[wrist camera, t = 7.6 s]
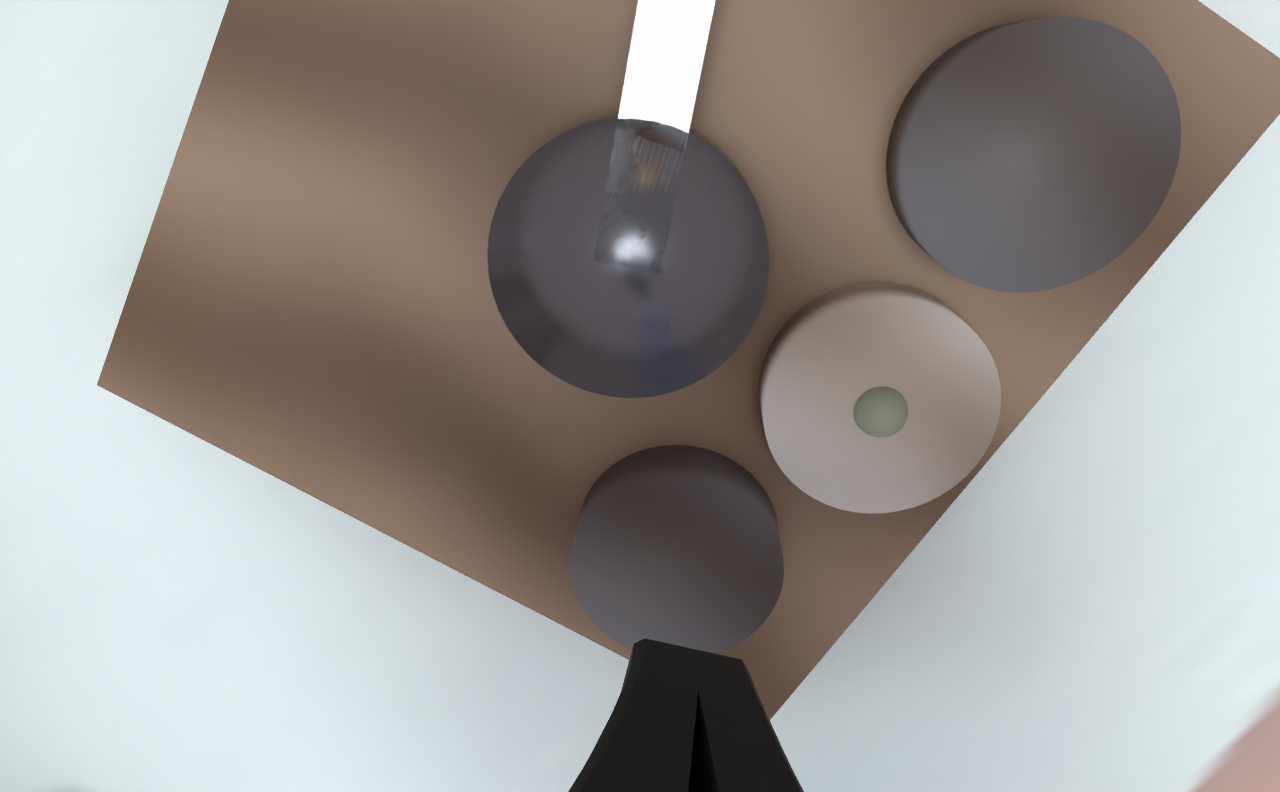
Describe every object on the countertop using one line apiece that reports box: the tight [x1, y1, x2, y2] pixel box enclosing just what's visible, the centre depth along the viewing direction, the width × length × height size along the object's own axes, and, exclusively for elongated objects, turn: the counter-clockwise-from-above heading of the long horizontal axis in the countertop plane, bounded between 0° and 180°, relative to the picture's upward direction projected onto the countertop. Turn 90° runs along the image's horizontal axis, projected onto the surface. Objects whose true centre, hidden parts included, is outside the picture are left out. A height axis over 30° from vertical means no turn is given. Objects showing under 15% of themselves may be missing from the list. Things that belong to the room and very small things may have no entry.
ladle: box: [487, 0, 769, 398], centre depth 13 cm, size 10×5×4 cm, turn 169°
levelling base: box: [97, 0, 1280, 720], centre depth 16 cm, size 17×17×3 cm
